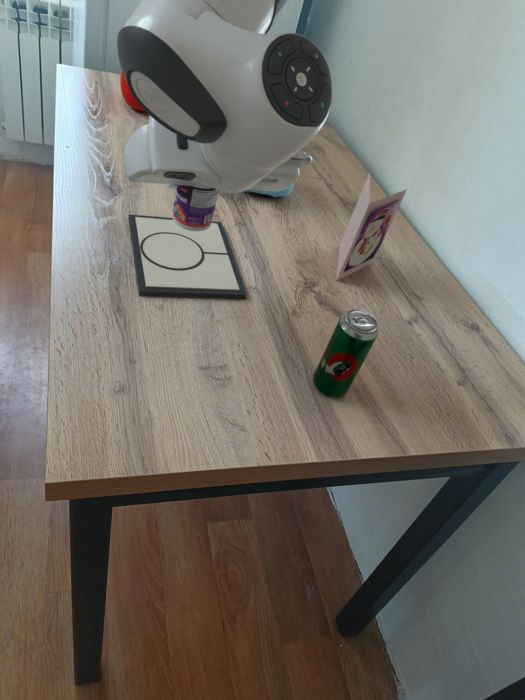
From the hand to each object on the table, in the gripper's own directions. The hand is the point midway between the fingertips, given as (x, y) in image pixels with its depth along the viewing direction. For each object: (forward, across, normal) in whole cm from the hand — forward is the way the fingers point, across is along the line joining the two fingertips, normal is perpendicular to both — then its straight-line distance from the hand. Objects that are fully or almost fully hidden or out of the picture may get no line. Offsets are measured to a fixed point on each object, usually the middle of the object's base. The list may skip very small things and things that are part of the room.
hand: (196, 184), depth 70 cm
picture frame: (+16, -2, +7) cm, 18 cm away
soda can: (-4, -16, +28) cm, 32 cm away
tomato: (+56, -5, -33) cm, 65 cm away
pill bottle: (+4, 0, +4) cm, 6 cm away
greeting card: (+16, -31, +8) cm, 36 cm away
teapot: (+35, -24, -11) cm, 44 cm away
